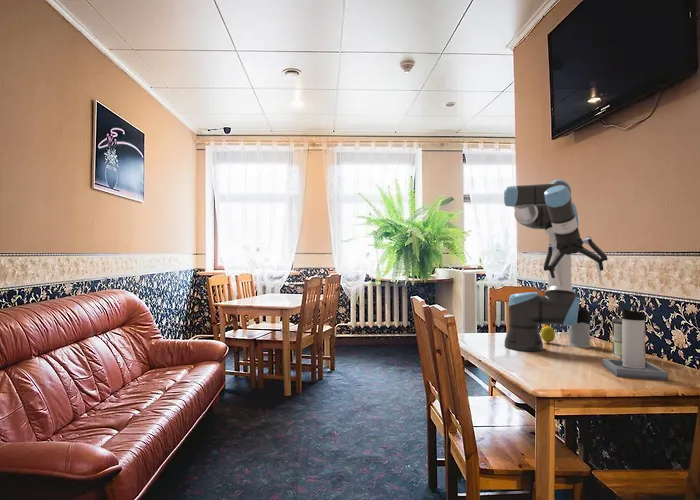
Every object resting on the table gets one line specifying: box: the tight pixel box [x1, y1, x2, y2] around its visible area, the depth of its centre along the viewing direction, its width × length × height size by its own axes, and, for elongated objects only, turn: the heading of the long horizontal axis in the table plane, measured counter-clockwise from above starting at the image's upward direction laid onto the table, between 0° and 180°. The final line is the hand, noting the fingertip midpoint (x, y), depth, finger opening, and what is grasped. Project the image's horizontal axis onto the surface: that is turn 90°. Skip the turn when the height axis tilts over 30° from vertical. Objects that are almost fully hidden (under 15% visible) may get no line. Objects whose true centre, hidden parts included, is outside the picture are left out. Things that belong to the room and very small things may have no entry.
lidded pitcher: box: [567, 309, 604, 349], centre depth 181 cm, size 9×14×15 cm, turn 84°
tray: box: [602, 358, 669, 381], centre depth 138 cm, size 14×14×2 cm
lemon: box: [540, 324, 556, 344], centre depth 186 cm, size 6×6×8 cm
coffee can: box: [611, 318, 623, 359], centre depth 161 cm, size 10×10×14 cm
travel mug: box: [621, 308, 646, 370], centre depth 138 cm, size 6×7×20 cm
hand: (579, 281), depth 150 cm, fingers open, 13 cm apart
